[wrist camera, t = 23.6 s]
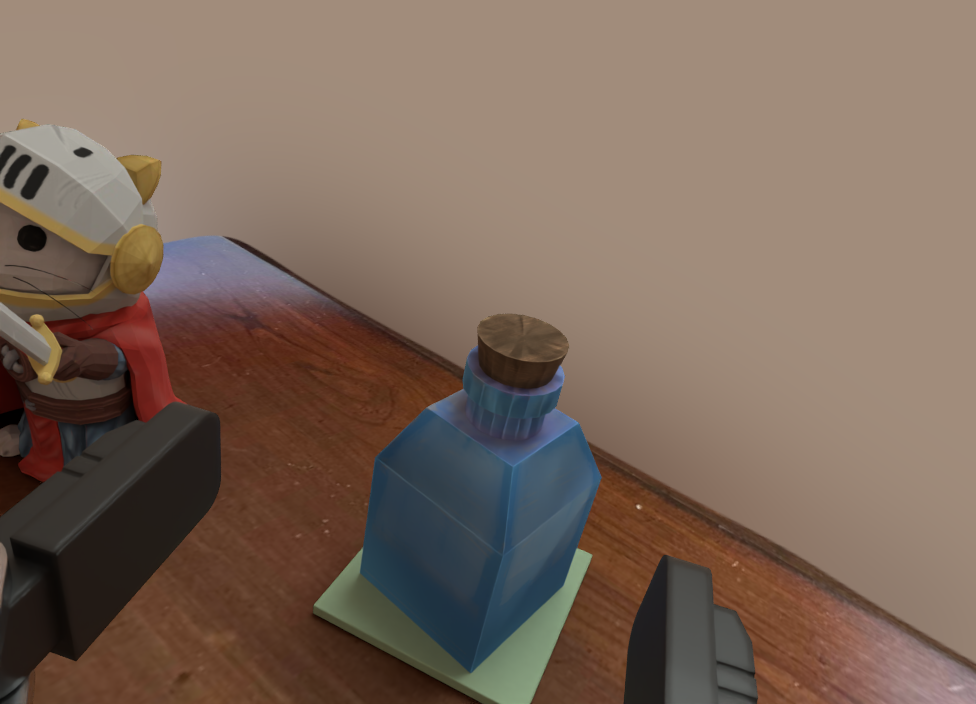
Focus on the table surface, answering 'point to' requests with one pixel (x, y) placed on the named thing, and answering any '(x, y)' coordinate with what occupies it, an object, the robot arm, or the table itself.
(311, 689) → the table surface
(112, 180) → the figurine
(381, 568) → the perfume bottle
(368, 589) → the mat
